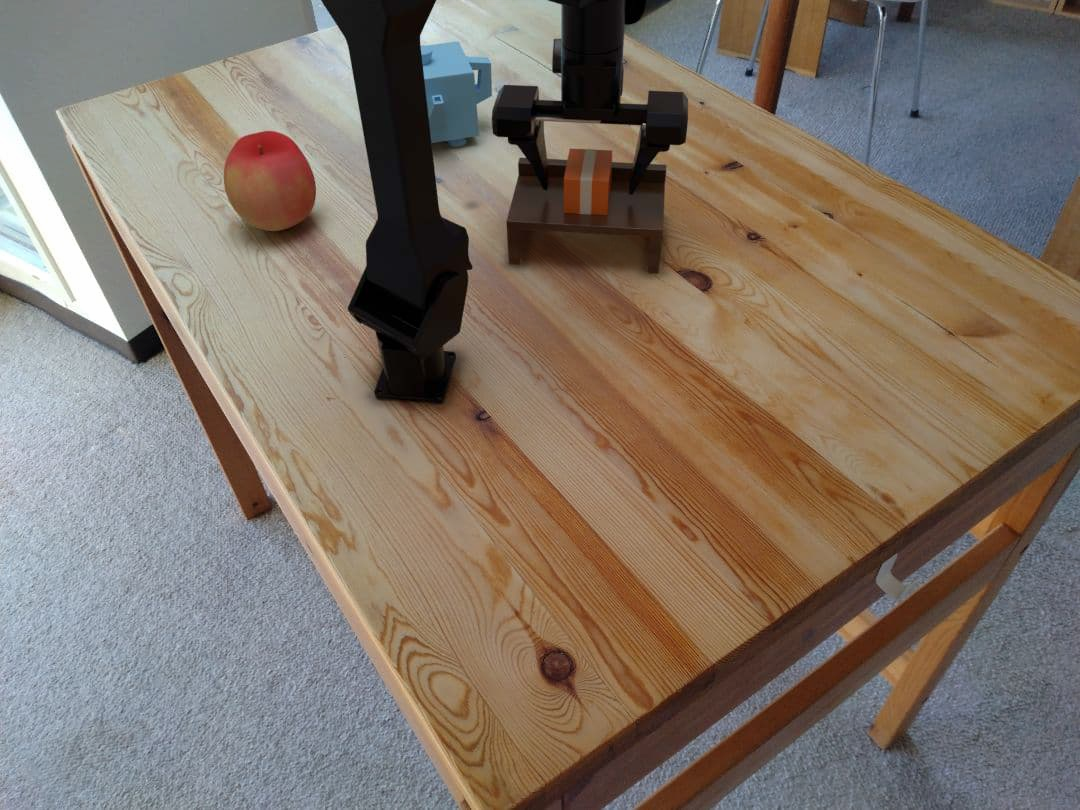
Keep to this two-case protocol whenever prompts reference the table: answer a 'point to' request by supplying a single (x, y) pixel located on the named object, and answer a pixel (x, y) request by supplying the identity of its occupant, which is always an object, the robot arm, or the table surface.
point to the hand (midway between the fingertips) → (588, 190)
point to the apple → (269, 181)
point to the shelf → (623, 216)
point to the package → (587, 181)
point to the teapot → (454, 91)
